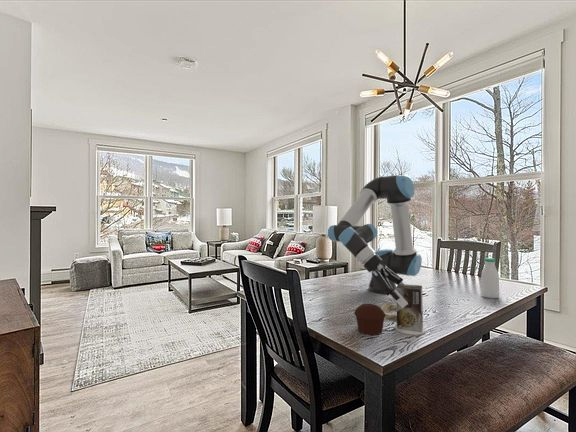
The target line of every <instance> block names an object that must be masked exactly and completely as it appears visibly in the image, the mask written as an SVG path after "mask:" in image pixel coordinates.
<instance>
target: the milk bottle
mask: <svg viewBox="0 0 576 432" xmlns="http://www.w3.org/2000/svg"><path fill="white" fill-rule="evenodd" d="M484 263H485V264H484V267H483V268H482V271H481V275H480V276H481V279H480V280H481V281H480V282H481V284H480V285H481V286H480V289H481V296H482V297H483V298H487V299H488V298H489V299H499V297H500V275H499V271H498V270H497V269H498V268H497V267H496V258H493V257H485V258H484Z"/></svg>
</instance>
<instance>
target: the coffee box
mask: <svg viewBox="0 0 576 432" xmlns="http://www.w3.org/2000/svg"><path fill="white" fill-rule="evenodd" d="M396 291H397V292H398V293H399V294H400V295H401V296H402V297H403V298H404V299H405V300H406V301H407V302H408V304H407V305H406V306H405V307H404V308H402V307H401V306H400V305H399V304H398V303H397V302H396V301H395V302H396V303H395V304H397V310H396V315H397V321H396V324H397V329H404V330H411V331H418V332H422V330H423V327H424V319H423V318H424V317H423V316H424V314H423V312H424V310H423V307H424V306H423V304H424V303H423V285H418V284H406V283H404V284H398V286H397V285H396Z"/></svg>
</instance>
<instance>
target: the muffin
mask: <svg viewBox="0 0 576 432" xmlns="http://www.w3.org/2000/svg"><path fill="white" fill-rule="evenodd" d="M353 313H354V316H355V318H356V323H357V330H358V332H359V333H361V334H362V335H365V336H370V337H373V336H379V335H380V334H382V333H383V328H384V321H385V319H384V317H385V316H386V315H385V313H384V312H383V310H382V309H381V307H380V306H378V305H377V304H373V303H363V304H360V305H358V307H357V308H355V310H354V312H353Z"/></svg>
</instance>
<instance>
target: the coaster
mask: <svg viewBox="0 0 576 432" xmlns="http://www.w3.org/2000/svg"><path fill="white" fill-rule="evenodd" d="M394 329H395V330H396V331H397V332H399V333H402V334H405V335H411V336H418V335H424V334H425V333H426V327H424V326H423V330H422V332H418V331H411V330H404V329H397V323H396V324H394Z"/></svg>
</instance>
